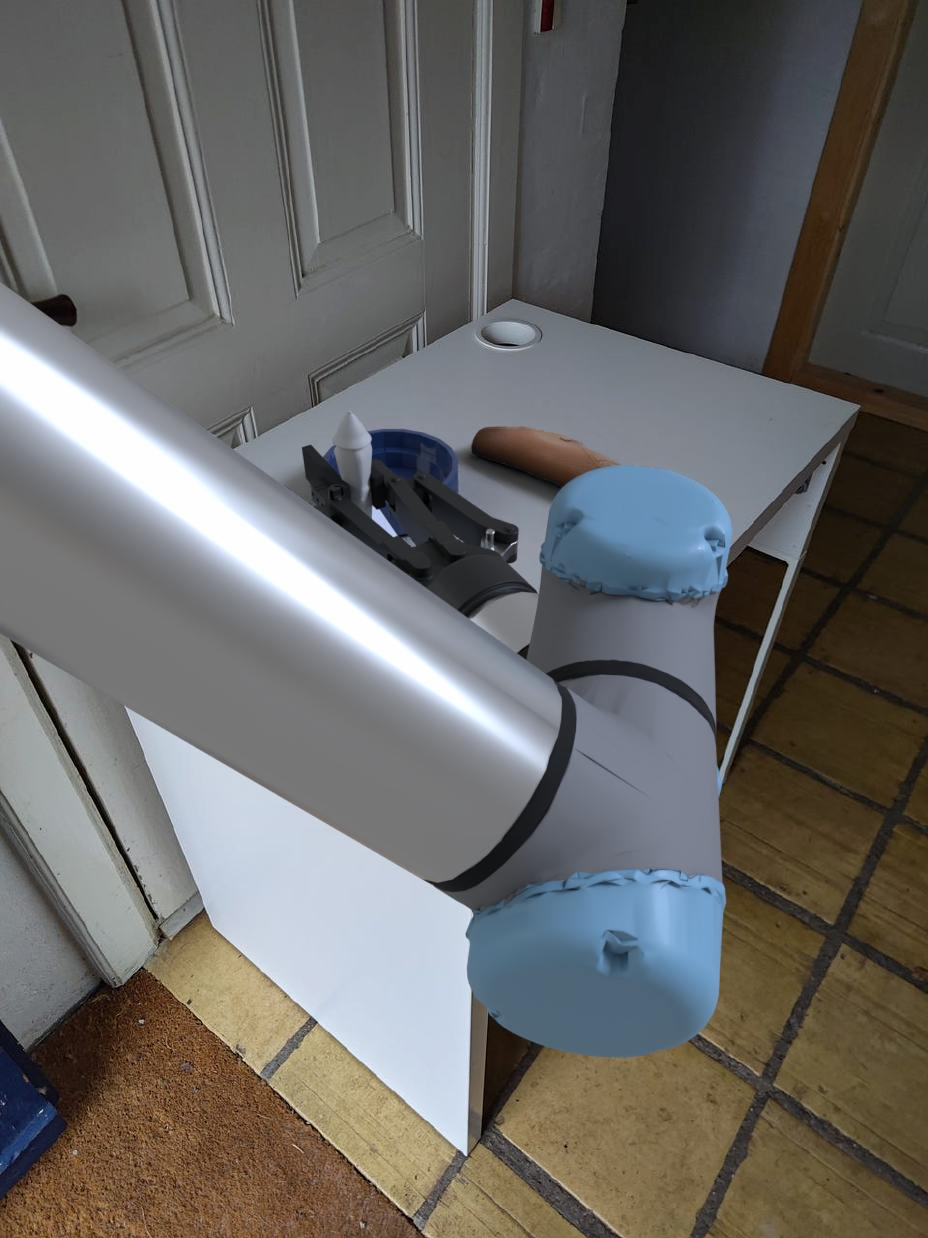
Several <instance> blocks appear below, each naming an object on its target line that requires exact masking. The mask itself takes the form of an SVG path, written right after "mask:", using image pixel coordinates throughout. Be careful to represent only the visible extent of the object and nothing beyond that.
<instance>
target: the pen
mask: <svg viewBox="0 0 928 1238" xmlns="http://www.w3.org/2000/svg"><path fill="white" fill-rule="evenodd" d="M371 440H372V439H371V435H370V434H369V433H368V432H367V430H366V428H365V426H364V424H363V423H362V422H361V420H360V419H359V418H358V417H357V416H356V415H355V414H354V413H353V412H352V411H351V410H348V411H347V412H346V413H345V415H344V416H343V418H342V419H341V421H340V423H339V424H338V427H337V429H336V432H335V434H334V435H333V437H332V438H331V441H332V445H335V446H336V447H335V450H334V452H335V457H336V461H337V465H338V468H339V472H340V475H341V479H342V480H343V481H345V482H346V483H347V484H348V485H349V486H350V493H351V501H352V502H353V503H354V504H355V505H356V506H358V507H359V508H360V509H361V510H362V511H363V512H365V513H366V514H367V515H368V516H369V517H370V518H372V493H371V482H370V473H371V460H372V447H371V443H370V442H371Z"/></svg>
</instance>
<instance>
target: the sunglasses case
mask: <svg viewBox="0 0 928 1238" xmlns="http://www.w3.org/2000/svg"><path fill="white" fill-rule="evenodd" d="M470 449H471V451H470V452H471V453H472V455H475V456H477V457H480V458H483V459H485V460H489V461H492V462H495V463H498V464H501V465H503V464H504V465H506V466H507V467H510V468H514V469H518V470H520V471H522V472H524V473H527V474H528V475H531V476H534V477H536V478H538V479H541V480H544V481H547V482H550V483H553V484H554V485H556V486H558V487H560V488H563V487H564V486H565V485H566V484H567V483H568V482H570V481H571V480H573V479H574V478H576V477H577V476H580V475H582V474H584V473H586V472H589V471H592V470H595V469H599V468H603V467H609V466H615V465H622V464H621V463H619V462H617V461H616V460H614V459H611V458H609V457H607V456H605V455H603V454H601V453H598V452H596V451H594V450H591V449H590V448H587V447H586V446H585V445H583V443H582V442H581V441H579V440H576V439H573V438H570V437H568V436H566V435H563V434H560V433H557V432H556V433H555V432H551V431H545V430H540V429H536V428H531V427H525V426H507V425H503V426H502V425H501V426H499V425H498V426H485V427H482V428H481V429H479V430H478V431H477V432H476V433H475V435H474V437H473V438H472V442H471V447H470Z"/></svg>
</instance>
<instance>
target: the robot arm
mask: <svg viewBox="0 0 928 1238" xmlns="http://www.w3.org/2000/svg"><path fill="white" fill-rule="evenodd" d="M212 434H213V433H211V432H210V431H208V430H207V429H206V428H204V427H203V426H202V425H200V424H198V423H197V422H196V421H195V420H193V419H192V418H191V417H189V416H188V415H186V414H185V413H183V412H182V411H181V410H180V409H178V408H176V407H175V406H174V405H172V403H169V402H168V401H167V400H165V399H164V398H162V397H161V396H159V394H157V393H156V392H154V391H153V390H152V389H150V388H149V387H147V386H146V385H144V383H142V382H140V381H139V380H137V379H136V377H133V376H132V375H131V374H130V373H128V372H126V371H125V370H123V369H122V368H121V367H119V366H118V365H117V364H115V363H114V362H112V361H111V360H110V359H109V358H107V357H106V356H104V355H103V354H101V353H100V352H98V351H97V350H96V349H94V348H93V347H92V346H90V345H89V344H88V343H86V342H85V341H83V340H82V339H81V338H79V337H78V336H76V335H75V334H73V333H72V332H71V331H69V330H68V329H66V328H65V327H64V326H62V325H61V324H60V323H58V322H57V321H55V320H54V319H53V318H51V317H50V316H48V315H47V314H46V313H44V312H43V311H42V310H40V309H39V308H37V307H36V306H35V305H33V304H32V303H31V302H29V301H28V300H26V299H25V298H23V297H22V296H20V295H19V294H18V293H16V292H15V291H14V290H12V289H11V288H9V287H8V286H7V285H5V284H4V283H3V282H1V281H0V635H2V636H3V637H5V638H7V639H9V640H10V641H12V642H13V643H16V644H17V645H19V646H20V647H22V648H24V649H25V650H28V651H29V652H31V653H33V654H34V655H35V656H38V657H40V658H41V659H43V660H45V662H46V661H47V663H50V664H52V665H53V666H55V667H57V668H58V669H60V670H62V671H63V672H65V673H67V674H69V675H71V676H72V677H73V678H75V679H77V680H79V681H81V682H82V683H84V684H85V685H88V686H89V687H91V688H93V689H94V690H96V691H98V692H99V693H101V694H103V695H104V696H106V697H108V698H110V699H112V700H113V701H115V702H116V703H118V704H120V705H122V706H124V707H126V708H127V709H129V710H130V711H132V712H134V713H135V714H137V715H139V716H141V717H143V718H144V719H146V720H147V721H149V722H151V723H153V724H154V725H156V726H158V727H160V728H161V729H163V730H165V731H166V732H168V733H170V734H171V735H173V736H174V737H177V738H179V739H180V740H182V741H184V742H185V743H187V744H189V745H191V746H192V747H194V748H195V749H197V750H199V751H201V752H202V753H204V754H206V755H207V756H209V757H211V758H213V759H215V760H216V761H218V762H219V763H221V764H223V765H225V766H227V767H228V768H230V769H232V770H234V771H235V772H237V773H239V774H240V775H242V776H244V777H245V778H247V779H249V780H251V781H252V782H254V783H256V784H257V785H260V787H262V788H264V789H266V790H268V791H269V792H271V793H273V794H274V795H276V796H278V797H280V798H281V799H282V800H285V801H286V802H288V803H290V804H291V805H293V806H295V807H297V808H298V809H301V810H302V811H304V812H305V813H306V814H307V813H308V814H309V815H310V816H312V817H314V818H316V819H317V820H319V821H321V822H323V823H324V824H326V825H328V826H329V827H331V828H333V829H335V830H336V831H338V832H340V833H342V834H344V835H345V836H347V837H349V839H352V840H353V841H355V842H357V843H359V844H360V845H362V846H364V847H366V848H367V849H369V850H371V851H372V852H374V853H376V854H378V855H379V856H381V857H383V858H385V859H386V860H388V861H389V862H391V863H392V864H394V865H396V866H398V867H400V868H401V869H403V870H405V871H407V872H408V873H410V874H412V875H414V876H416V877H417V878H418V879H421V880H422V881H424V882H426V883H428V884H430V886H433V887H434V888H435V889H437V890H438V891H440V892H441V893H443V894H444V895H446V896H448V897H449V898H451V899H453V900H454V901H456V902H458V903H460V904H461V905H463V906H465V907H466V908H468V909H469V910H470V911H471V912H472V915H473V916H472V917H471V919H470V921H469V924H468V926H467V929H466V931H465V938H466V939H467V940H468V943H469V947H468V955H467V962H466V977H467V978H466V979H467V982H468V985H469V988H470V990H471V991H472V993H473V996H474V998H475V1000H477V1001H478V1002H479V1003H481V1004H482V1005H483V1006H485V1007H486V1009H487V1013H488V1014H489V1016H490V1017H492V1018H493V1019H494V1020H495V1021H496V1022H497V1024H499V1025H500V1026H502V1027H503V1028H504V1029H506V1030H508V1031H509V1032H511V1033H512V1034H515V1035H517V1036H518V1037H520V1038H523V1039H525V1040H528V1041H530V1042H533V1043H535V1044H538V1045H540V1046H544V1047H546V1048H550V1049H552V1050H556V1051H557V1050H558V1051H561V1052H565V1053H570V1054H574V1055H581V1056H587V1057H595V1058H617V1059H618V1058H620V1059H621V1058H622V1059H627V1058H635V1057H643V1056H649V1055H650V1054H653V1053H657V1052H659V1051H664V1050H669V1049H674V1048H677V1047H679V1046H681V1045H683V1044H685V1043H687V1042H689V1041H690V1040H692V1039H693V1038H695V1037H696V1036H697V1035H698V1034H699V1033H700V1032H702V1030H703V1029H704V1028H705V1027H706V1025H707V1024H708V1023H709V1021H710V1020H711V1019H712V1017H713V1015H714V1013H715V1010H716V1008H717V1004H718V1001H719V996H720V980H721V977H720V975H721V956H722V939H723V921H724V920H723V919H724V911H725V909H726V905H727V896H726V888H725V885H724V883H723V865H722V843H721V842H722V841H721V824H720V823H721V822H720V821H721V820H720V805H719V804H720V801H719V798H720V794H721V791H722V786H723V780H722V777H721V774H720V770H719V767H718V761H717V760H718V758H717V709H716V708H717V707H716V706H717V704H716V703H717V702H716V701H717V700H716V666H715V665H716V662H715V631H714V630H715V627H714V625H715V616H716V609H717V604H718V600H719V597H720V594H721V591H722V589H723V588H725V587H726V586H727V584H728V579H729V574H728V570H727V565H728V560H729V559H728V558H729V554H730V549H731V545H732V539H733V524H732V521H731V517H730V514H729V513H728V510H727V508H726V507H725V506H724V504H723V502H722V500H720V499H719V498H718V496H716V494H714V493H713V492H712V491H711V490H710V489H709V488H707V487H706V486H704V485H703V484H701V483H699V482H698V481H696V480H694V479H692V478H690V477H689V476H686V475H683V474H681V473H679V472H676V471H673V470H669V469H666V468H660V467H649V466H641V465H634V464H621V465H615V466H609V467H603V468H599V469H595V470H592V471H589V472H586V473H584V474H582V475H580V476H577V477H576V478H574V479H573V480H571V481H570V482H568V483H567V484H566V485H565V486H564V487H561V489H560V490H558V492H556V495H555V496H554V498H553V500H552V502H551V504H550V507H549V511H548V517H547V522H546V530H545V537H544V541H543V543H542V544H541V545H540V553H539V556H538V557H539V558H538V559H539V564H540V565H541V572H540V582H539V590H538V591H539V592H538V591H537V590H536V588H535V587H533V585H532V584H530V583H529V582H528V581H527V580H526V579H525V578H524V577H523V576H522V575H521V574H520V572H517V570H516V569H515V568H514V567H513V566H512V565H511V564H513V563H515V562H516V561H517V560H518V547H519V534H520V529H519V527H518V526H517V525H516V524H513V523H510V522H507V521H504V520H501V519H498V518H497V517H493V516H491V515H489V514H488V513H487V512H485V511H483V509H481V508H480V507H478V506H476V505H475V504H474V503H473V502H472V501H471V502H470V501H469V500H468V499H466V498H465V497H464V496H462V495H461V494H459V492H458V493H456V492H455V491H453V490H452V489H450V488H449V487H447V486H446V485H445V484H443V483H442V482H440V481H439V480H437V479H436V478H434V477H433V476H432V475H430V474H429V473H426V472H418V473H416V474H415V475H414V479H404V478H403V477H402V476H400V475H395V474H394V473H393V472H392V471H391V470H390V469H389V468H388V467H387V466H385V464H384V463H383V462H382V461H379V460H377V459H375V460H372V461H371V473H370V482H371V493H372V505H373V507H374V508H375V509H376V510H378V509H381V508H384V507H386V501H387V502H388V506H389V517H390V518H391V514H393V517H395V518H396V519H397V521H398V522H399V524H400V525H401V526H402V528H403V529H404V530H405V532H406V534H407V536H408V537H409V538H410V540H411V542H412V543H413V544H414V546H411V544H409V543H408V542H407V541H406V540H405V539H403V538H402V537H401V536H400V535H397V536H395V537H393V536H391V535H390V534H389V533H388V532H387V531H386V530H384V529H383V528H382V527H381V526H380V525H379V524H377V523H376V522H375V521H374V520H373V519H372V518H370V517H369V516H368V515H367V514H366V513H365V512H363V511H362V510H361V509H360V508H359V507H358V506H356V505H355V504H354V503H353V502H352V501H351V493H350V486H349V485H348V484H347V483H346V482H345V481H343V480H342V479H341V476H340V475H339V474H338V473H337V472H336V471H335V470H334V469H333V468H332V467H331V465H330V464H329V463H328V462H327V461H326V460H325V459H324V458H323V456H322V454H320V453H319V451H318V450H317V449H316V448H315V447H314V446H313V445H312V444H308V445H303V446H301V453H302V460H303V468H304V475H305V479H306V480H307V481H308V482H309V487H310V495H311V502H313V503H314V505H315V506H313V505H311V504H310V503H308V502H307V501H306V500H304V499H303V498H302V497H301V496H299V495H298V494H296V493H294V491H292V490H291V489H290V488H287V487H286V486H285V485H283V484H282V483H281V482H280V481H278V480H277V479H275V478H274V477H272V476H271V475H270V474H268V473H267V472H266V471H264V470H263V469H261V468H260V467H259V466H257V465H255V464H254V463H253V462H252V461H250V460H249V459H247V458H246V457H244V456H243V455H242V454H240V453H239V452H238V451H236V450H235V449H234V448H232V447H231V446H229V445H228V444H226V443H225V442H224V441H222V440H221V439H220V438H218V437H217V436H216V435H215V434H213V435H212ZM214 435H215V436H216V437H215V436H214ZM335 447H336V446H335ZM337 466H338V465H337ZM338 469H339V468H338ZM385 500H386V501H385Z"/></svg>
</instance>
